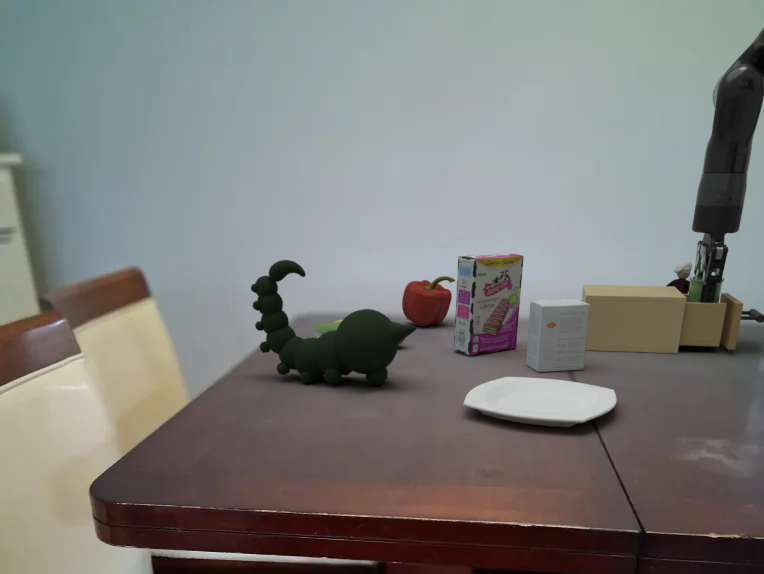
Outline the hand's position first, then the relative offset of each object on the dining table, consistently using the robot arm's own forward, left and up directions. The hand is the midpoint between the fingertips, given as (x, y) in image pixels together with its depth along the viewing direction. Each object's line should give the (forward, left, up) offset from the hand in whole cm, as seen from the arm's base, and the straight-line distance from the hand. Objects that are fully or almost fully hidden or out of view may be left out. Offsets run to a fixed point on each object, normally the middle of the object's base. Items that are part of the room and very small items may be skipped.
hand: (702, 304), depth 133 cm
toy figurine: (+58, +36, -8) cm, 69 cm away
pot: (0, 0, -1) cm, 1 cm away
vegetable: (+51, -13, -8) cm, 54 cm away
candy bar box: (+37, +10, -8) cm, 39 cm away
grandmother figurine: (0, -22, -8) cm, 23 cm away
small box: (+25, +21, -8) cm, 34 cm away
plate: (+27, +46, -8) cm, 54 cm away
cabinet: (+12, 0, -7) cm, 14 cm away
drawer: (0, 0, -7) cm, 7 cm away
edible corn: (+61, +8, -8) cm, 62 cm away
